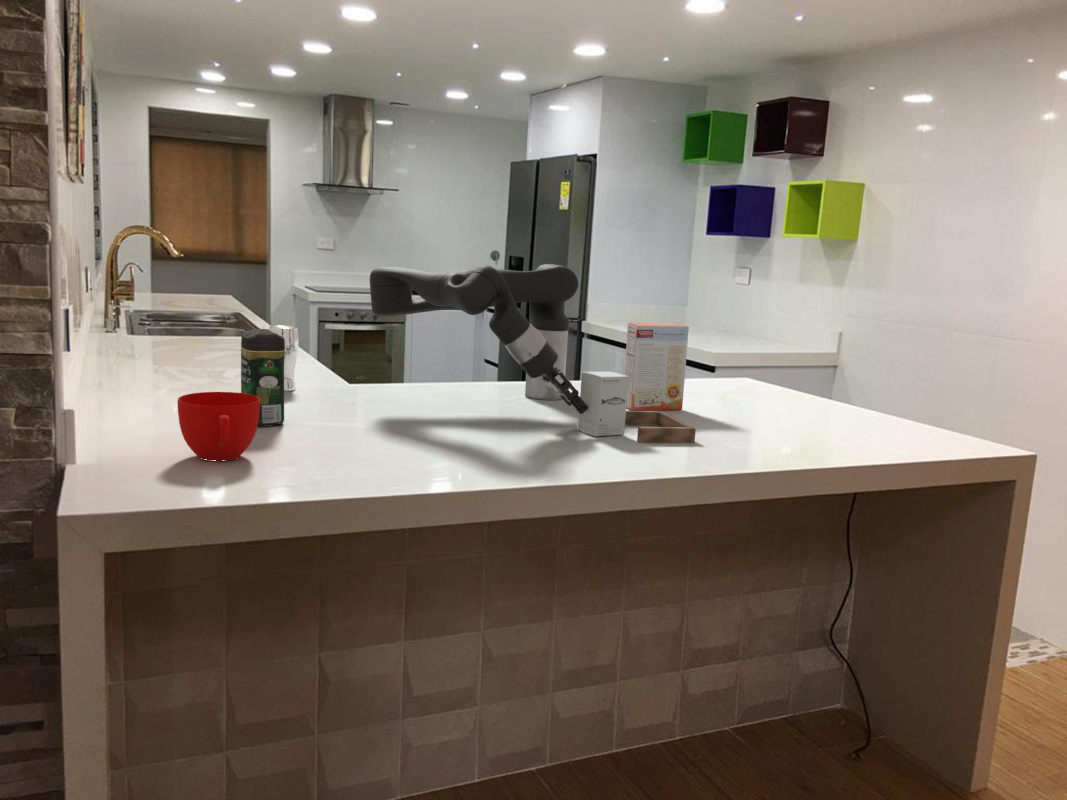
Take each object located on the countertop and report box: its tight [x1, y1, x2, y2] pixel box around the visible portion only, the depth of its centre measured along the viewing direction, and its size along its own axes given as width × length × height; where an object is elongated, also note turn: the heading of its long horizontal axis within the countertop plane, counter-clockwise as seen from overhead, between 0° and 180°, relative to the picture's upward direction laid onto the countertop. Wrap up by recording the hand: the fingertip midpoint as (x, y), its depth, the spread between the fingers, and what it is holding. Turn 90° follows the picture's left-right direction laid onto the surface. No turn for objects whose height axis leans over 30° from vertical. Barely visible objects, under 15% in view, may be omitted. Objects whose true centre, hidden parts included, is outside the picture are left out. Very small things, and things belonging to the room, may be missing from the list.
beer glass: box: [268, 325, 299, 392], centre depth 218 cm, size 7×7×15 cm
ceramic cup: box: [177, 391, 260, 462], centre depth 151 cm, size 13×17×10 cm
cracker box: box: [623, 322, 690, 411], centre depth 223 cm, size 14×6×21 cm, turn 109°
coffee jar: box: [240, 328, 285, 428], centre depth 180 cm, size 10×8×19 cm
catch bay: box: [625, 410, 697, 444], centre depth 195 cm, size 12×18×3 cm
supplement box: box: [577, 371, 629, 438], centre depth 191 cm, size 7×7×13 cm
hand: (578, 407), depth 194 cm, fingers open, 8 cm apart
